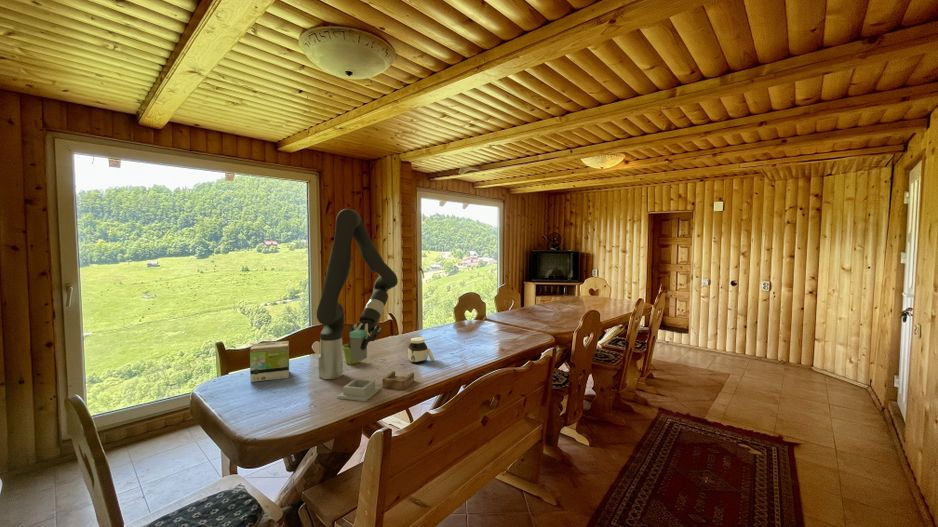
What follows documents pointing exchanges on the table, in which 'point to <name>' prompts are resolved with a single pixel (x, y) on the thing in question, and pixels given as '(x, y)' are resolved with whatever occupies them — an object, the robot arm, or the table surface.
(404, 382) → the cradle
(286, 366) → the tea box
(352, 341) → the plug
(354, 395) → the port block
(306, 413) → the table surface
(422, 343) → the spread jar
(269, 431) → the table surface
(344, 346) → the plant pot
